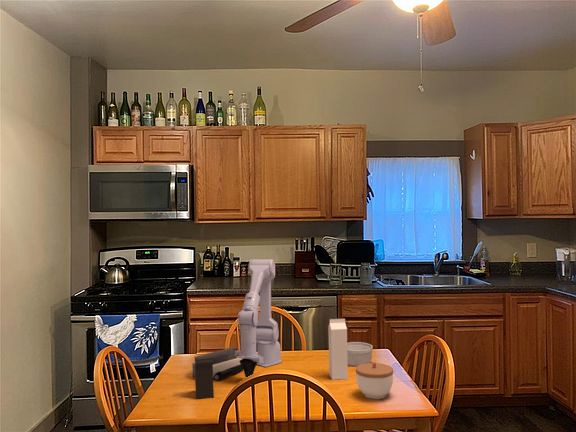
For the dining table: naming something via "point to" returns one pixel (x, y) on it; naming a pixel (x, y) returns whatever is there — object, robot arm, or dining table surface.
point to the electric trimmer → (227, 372)
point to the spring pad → (225, 365)
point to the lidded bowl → (374, 379)
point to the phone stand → (204, 378)
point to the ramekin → (358, 353)
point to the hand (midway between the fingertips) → (249, 378)
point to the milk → (338, 349)
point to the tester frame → (217, 357)
